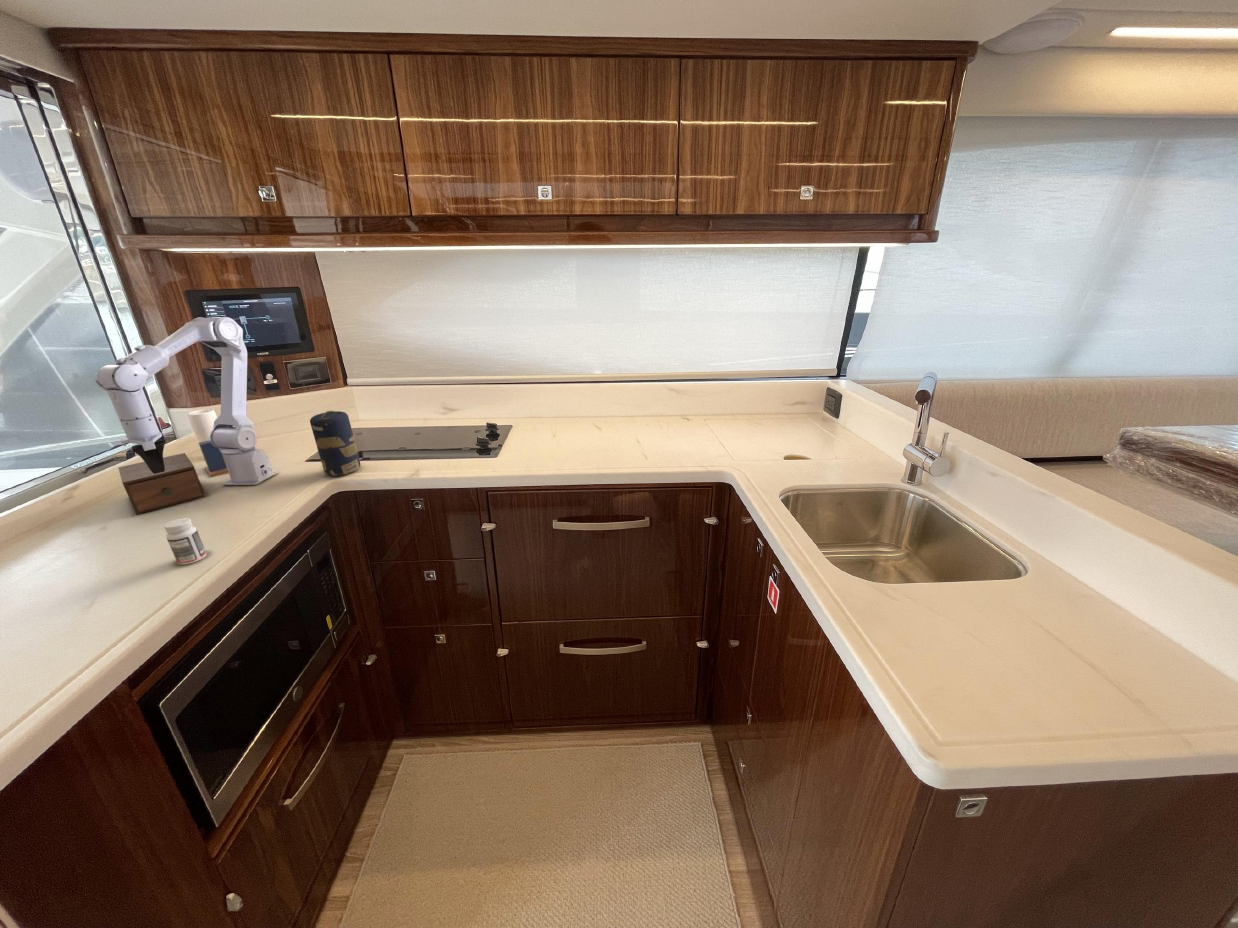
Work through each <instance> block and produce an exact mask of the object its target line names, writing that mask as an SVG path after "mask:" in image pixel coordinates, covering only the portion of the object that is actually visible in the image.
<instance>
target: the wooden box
mask: <svg viewBox="0 0 1238 928" xmlns="http://www.w3.org/2000/svg"><path fill="white" fill-rule="evenodd" d="M163 460H164V466H165V472H161V473H156V474H153V473H152V471H151V470H150V469H149V467H148V466H147V464H146V463H145V461H142V462H137V463H132V464H128V465H122V466H119V467H118V472H119V476H120V479H121V483H122V485H123V488H124V490H125V492H126V494H127V496H128V499H129V501H130V503H131V506H132V508H133V510H134V513H135V515H140V514H144V513H148V512H151V511H155V510H159V509H162V508H167V507H170V506H174V505H178V504H181V503H184V502H185V503H186V502H188V501H189V502H190V501H193V500H196V499H201V498H203V497H206V494H205V492H204V488H203V485H202V484H201V481H200V477H199V475H198V473H197V470H196V468H195V465H194V463H192V461H191V460H190V458H189V457H188V455H187V454H186V453H185V452H183V453H178V454H174V455H173V454H172V455H169V456H165V457H164V456H163ZM187 470H188V471H189V470H193V473H194V475H195V478H196V480H197V483H198V486H199V488H200V491H201V494H202V495H200V496H196V497H193V498H189V499H185V500H181V501H178V502H174V503H170V504H166V505H163V506H159V507H155V508H151V509H148V510H144V511H140V512H139V511H138V509H137V507H136V505H135V502H134V500H133V498H132V496H131V493H130V491H129V489H128V486H127V485H130V484H132V483H136V482H140V481H145V480H149V479H153V478H157V477H162V476H166V475H170V474H174V473H178V472H183V471H187Z"/></svg>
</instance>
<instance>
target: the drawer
mask: <svg viewBox="0 0 1238 928" xmlns="http://www.w3.org/2000/svg"><path fill="white" fill-rule="evenodd" d="M127 486H128V489H129V491H130V493H131V496H132V498H133V500H134V502H135V505H136V507H137V509H138V511H139V512H140V511H144V510H148V509H151V508H155V507H159V506H163V505H166V504H170V503H174V502H178V501H181V500H185V499H189V498H193V497H196V496H200V495H202V494H201V491H200V488H199V486H198V483H197V480H196V478H195V475H194V473H193V470H189V471H188V470H187V471H183V472H178V473H174V474H170V475H166V476H162V477H157V478H153V479H149V480H145V481H140V482H136V483H132V484H130V485H127Z"/></svg>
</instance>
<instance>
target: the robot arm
mask: <svg viewBox="0 0 1238 928" xmlns="http://www.w3.org/2000/svg"><path fill="white" fill-rule="evenodd" d="M197 342H200V343H201V344H203V345H205V346H207V347H209V348H211V349H213V350H214V351H215V352H216V353H217V354H219V355H220V357H221V375H220V379H221V380H220V414H219V416H217V419H216V420H215V421H214V426H213V429H212V431H211V433H210V441H211V443H212V445H213V446H215V447H217V448H219V450H220V452H221V453H222V455H223V458H224V461H225V464H226V467H227V470H228V475H229V477H230V480H228V481H226V482H224V483H223V485H224V486H256V485H258V484H261V483H263V481H265V480H267V479H269V478H271V477H273V476H275V475H276V472H273V468H272V466H271V462H270V459H269V456H268V454H267V452H265V451H264V450H262V449H258V448H256V444H257V443H258V436H257V433H256V430H255V423H254V422H253V421H252V420H251V419H250V418H248V417H247V395H248V394H247V388H248V385H247V384H248V350H247V347H246V344H245V341H244V329H243V328H242V327H241V326H240V325H239V323H238V322H236V321H235V320H234V319H233V318H231V317H228V316H221V317H201V316H200V317H196V318H194V319H192V320H190V321H187V322H185V324H184V325H183V326H182V327H180V328H179V329H177V330H176V331H175V332H173V333H172V334H170V335H169V336H167V337H166V338H164V339H163V340H162V341H160V342H158V343H157V344H156V345H151V344H145V345H143V344H142V345H141V344H140V345H137V346H135V347H134V349H133V350H134V351H133V352H131V353H129V354H127V355H125V356H124V357H118V358H117V359H116V360H115V364H107V365H103V366H102V367H100V369H98V371H97V374H96V379H95V383H96V385H97V386H98V387H100V388H101V389H102V390H104V391H105V392H106V393H107V395H108V397H109V398H110V401H111V403H112V406H113V408H114V410H115V413H116V415H117V418H118V419H119V423H120V425H121V426H122V429H123V431H124V434H125V436H126V437H124V438H121V439H120V442H121V444H133V445H131V450H132V451H133V452H134V453H135V454H136V455H138V457H140V458H141V460H142V461H143V462H145V463H146V464H147V466H148V467H149V469H150V470H151V471H152V473H153V474H156V473H161V472H165V466H164V460H163V458H164V449H165V442H164V440H163V439H162V437H163V434H162V432H161V431H160V429H159V426H158V424H157V422H156V419H155V417H154V414H153V412H152V409H151V407H150V404H149V402H148V399H147V397H146V394H145V392H144V389H143V388H144V387H145V386H146V382H147V380H148V379H150V378H151V377H152V376H154V375H155V374H157V373H159V372H161V370H164V368H166V367H168V366H169V364H170V357H172V356H175V355H176V354H178V353H180V352H181V351H183V350H185V349H186V348H188V347H190V346H192V345H193V344H196V343H197ZM160 438H161V439H160Z"/></svg>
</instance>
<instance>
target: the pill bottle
mask: <svg viewBox="0 0 1238 928" xmlns="http://www.w3.org/2000/svg"><path fill="white" fill-rule="evenodd" d="M163 527H164V530H165V532H166V533H167V534H166V535H165V536H166V540H167V542H168V545H169V548H170V549H171V552H172V553H173V554H172V555H173V556H174V558H175V561H176V563H177V564H178V565H183V566H185V565H190V564H194V563H197V562H198V561H200V560H202V559H204V558H205V557H206V556H207V551H206V549H205V546H204V543H203V541H202V539H201V537H200V536H201V535H200V534H199V531H198V529H197V527H195V526H194V525H193V522H192V520H191V518H188V517H183V518H177V519H174V520H170V521H168V522H167V523H165V524H164V526H163Z"/></svg>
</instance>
